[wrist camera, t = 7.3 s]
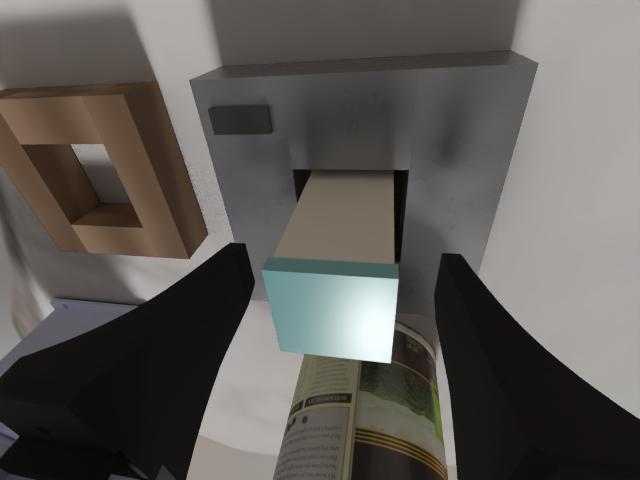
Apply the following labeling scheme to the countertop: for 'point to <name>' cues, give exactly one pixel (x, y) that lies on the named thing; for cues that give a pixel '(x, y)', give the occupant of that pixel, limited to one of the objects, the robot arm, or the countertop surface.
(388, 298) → the plug
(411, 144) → the port panel
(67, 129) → the wooden square frame
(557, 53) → the countertop surface
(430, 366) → the coffee can
